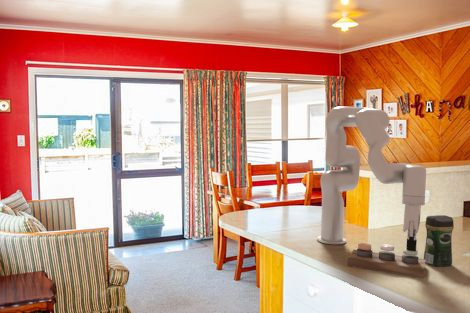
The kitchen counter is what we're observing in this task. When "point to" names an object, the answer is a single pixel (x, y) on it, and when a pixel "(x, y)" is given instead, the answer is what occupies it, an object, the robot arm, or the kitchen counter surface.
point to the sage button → (410, 252)
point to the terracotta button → (364, 246)
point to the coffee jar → (438, 240)
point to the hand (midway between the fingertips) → (411, 250)
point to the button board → (387, 262)
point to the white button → (387, 247)
